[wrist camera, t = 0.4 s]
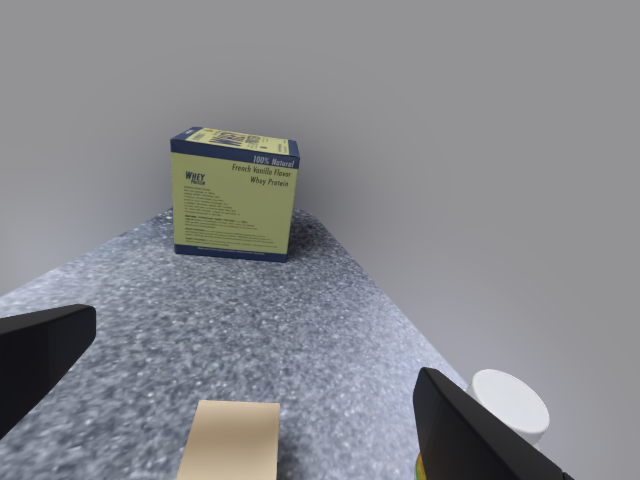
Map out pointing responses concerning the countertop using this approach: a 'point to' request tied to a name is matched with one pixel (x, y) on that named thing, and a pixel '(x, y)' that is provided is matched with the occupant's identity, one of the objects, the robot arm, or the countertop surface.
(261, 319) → the countertop surface
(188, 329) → the countertop surface
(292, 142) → the protein box
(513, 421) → the supplement bottle
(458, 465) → the robot arm
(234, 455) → the maple block
